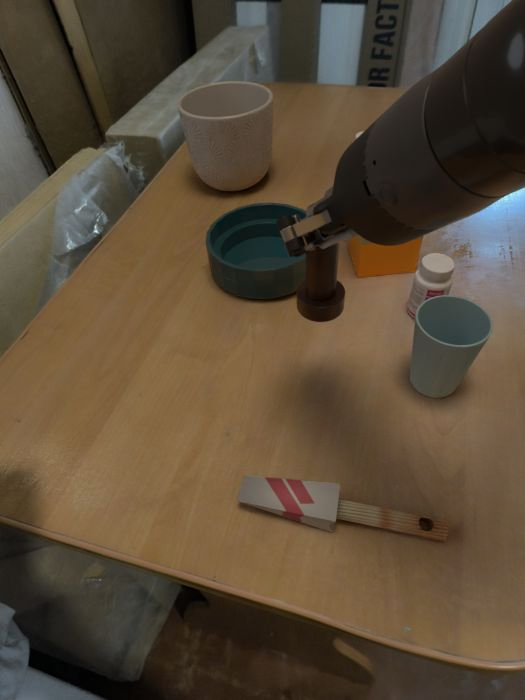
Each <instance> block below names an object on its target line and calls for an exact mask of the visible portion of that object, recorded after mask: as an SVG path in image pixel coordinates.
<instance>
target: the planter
mask: <svg viewBox="0 0 525 700" xmlns="http://www.w3.org/2000/svg"><path fill="white" fill-rule="evenodd" d="M176 108H177V111H178V115H179V120H180V123H181V127H182V131H183V135H184V139H185V142H186V146H187V150H188V154H189V157H190V161H191V164H192V166H193V169H194V171H195V172H196V174H197V176H198V177H199V178H200V180H201V181H203V183H205V184H206V185H207V186H209V187H210V188H212V189H215V190H219V191H221V192H222V191H224V192H237V191H243V190H246V189H249V188H251V187H253V186H255V185H256V184H258V183H259V182H260V181H261V180H262V179H263V178H264V177H265V175H266V174H267V173H268V171H269V168H270V165H271V161H272V156H273V132H274V129H273V127H274V124H273V123H274V93H273V91H271V89H270V88H269V87H267V86H265V85H262V84H261V83H257V82H253V81H243V80H229V81H228V80H227V81H218V82H212V83H207V84H204V85H201V86H197V87H195V88H192V89H190V90H188V91H187V92H186V93H184V94H183V95H181V96H180V98H178V100H177V103H176Z"/></svg>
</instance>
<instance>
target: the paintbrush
mask: <svg viewBox="0 0 525 700" xmlns="http://www.w3.org/2000/svg"><path fill="white" fill-rule="evenodd" d="M340 489H341V483H337V482H326V481H325V482H324V481H317V480H316V481H315V480H314V481H313V480H302V479H291V478H280V477H269V476H257V475H247V474H243V477H242V480H241V484H240V487H239V490H238V495H237V499H236V502H239V503H241V504H245V505H248V506H250V507H254V508H256V509H260V510H263V511H266V512H269V513H272V514H276V515H278V516H281V517H284V518H288V519H290V520H293V521H297V522H298V523H303V524H305V525H308V526H311V527H314V528H317V529H320V530H323V531H326V532H328V533H334V529H335V523H336V522H337V520H341V521H342V520H343V521H347V522H351V523H356V524H360V525H364V526H365V525H366V526H370V527H373V528H374V527H375V528H380V529H384V530H390V531H395V532H400V533H403V534H409V535H413V536H417V537H418V536H419V537H421V538H422V537H423V538H427V539H431V540H436V541H440V542H441V541H442V542H446V541H447V540H448V537H449V536H448V535H449V524H448V521H447V520H445V519H440V518H435V517H432V516H431V517H430V516H427V515H426V516H425V515H419V514H415V513H409V512H405V511H400V510H397V509H396V510H395V509H390V508H387V507H380V506H375V505H371V504H366V503H361V502H356V501H351V500H345V499H341V498H339V497H340V491H341V490H340ZM420 523H424V524H426V526H427V527H428V531H427V530H426V531H425V530H423V529H422V527H421V525H420Z"/></svg>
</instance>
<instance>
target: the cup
mask: <svg viewBox="0 0 525 700" xmlns="http://www.w3.org/2000/svg"><path fill="white" fill-rule="evenodd" d="M493 330H494V322H493V319H492V316H491V315H490V313H489V312H488V311H487V310H486V308H484V307H483V306H482V305H481V304H479V303H477V302H476V301H474V300H471V299H468V298H467V297H464V296H463V297H462V296H460V295H454V294H453V295H452V294H451V295H450V294H449V295H441V296H435V297H432V298H429V299H427V300H425V301H424V302H422V303H421V304H420V305H419V307H418V309H417V311H416V315H415V319H414V327H413V338H412V348H411V357H410V366H409V367H410V368H409V381H410V383H411V386H412V387H413V388H414V390H415V391H417V392H418V393H420V394H421V395H423V396H426V397H429V398H433V399H441V398H446V397H448V396H450V395H452V394H453V393H454V392H455V391H456V389H457V388H458V386H459V385H460V383H461V382H462V380H463V378H464V377H465V375H466V374H467V373H468V371H469V369H470V368H471V366H472V365H473V363H474V362H475V360H476V359H477V357H478V355H479V354H480V352H481V350H482V349H483V348H484V346H485V345H486V343H487V341H488V340H489V339H490V337H491V335H492V333H493Z"/></svg>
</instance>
